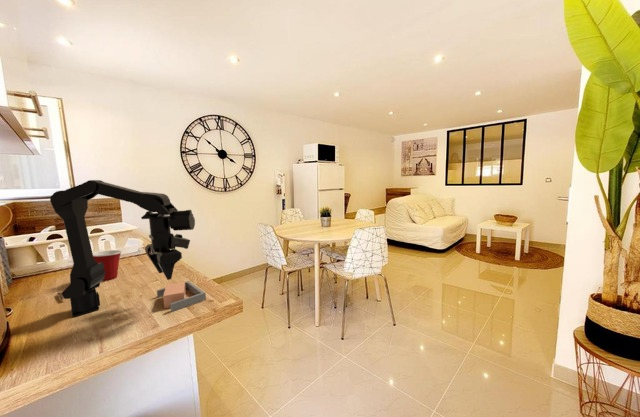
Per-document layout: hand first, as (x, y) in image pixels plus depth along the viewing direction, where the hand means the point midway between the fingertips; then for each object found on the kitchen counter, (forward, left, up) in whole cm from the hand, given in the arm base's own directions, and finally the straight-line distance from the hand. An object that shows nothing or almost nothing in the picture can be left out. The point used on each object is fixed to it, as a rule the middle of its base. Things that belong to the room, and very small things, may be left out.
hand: (165, 276), depth 87 cm
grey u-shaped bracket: (+4, 0, -10) cm, 11 cm away
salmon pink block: (+3, 0, -10) cm, 10 cm away
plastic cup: (-10, +45, -10) cm, 47 cm away
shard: (-22, +35, -10) cm, 43 cm away
